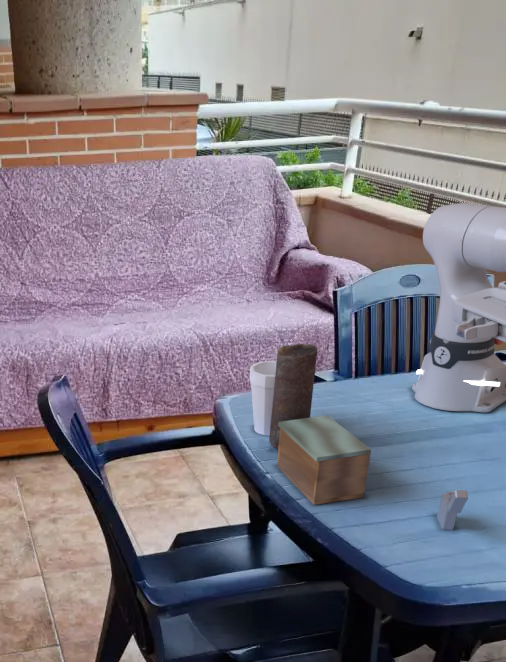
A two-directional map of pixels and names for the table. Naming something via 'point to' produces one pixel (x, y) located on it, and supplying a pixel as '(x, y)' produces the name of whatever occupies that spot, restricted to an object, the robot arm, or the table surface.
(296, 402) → the dark brown rough cylinder
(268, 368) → the foam cup
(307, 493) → the box
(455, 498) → the lighter
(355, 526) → the table surface
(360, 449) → the pale green flat panel
